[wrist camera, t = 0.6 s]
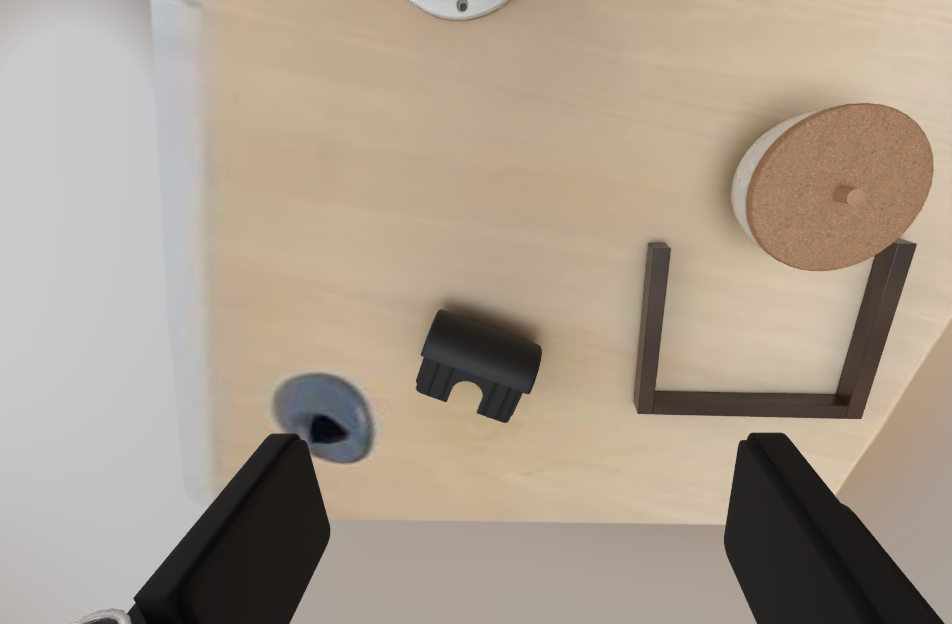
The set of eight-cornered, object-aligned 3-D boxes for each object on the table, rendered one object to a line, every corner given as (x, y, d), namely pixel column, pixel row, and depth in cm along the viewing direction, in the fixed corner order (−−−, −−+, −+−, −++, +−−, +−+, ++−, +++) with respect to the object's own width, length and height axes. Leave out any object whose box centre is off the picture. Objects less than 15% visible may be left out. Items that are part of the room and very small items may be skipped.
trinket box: (691, 229, 39) (735, 260, 31) (743, 93, 35) (810, 85, 27) (816, 256, 39) (896, 294, 31) (884, 122, 35) (998, 122, 26)
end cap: (542, 331, 45) (543, 366, 38) (515, 389, 48) (513, 430, 41) (444, 296, 44) (430, 325, 38) (424, 357, 47) (407, 392, 41)
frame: (648, 242, 40) (653, 248, 38) (898, 237, 38) (917, 243, 36) (633, 402, 47) (637, 414, 45) (848, 406, 44) (861, 419, 42)
